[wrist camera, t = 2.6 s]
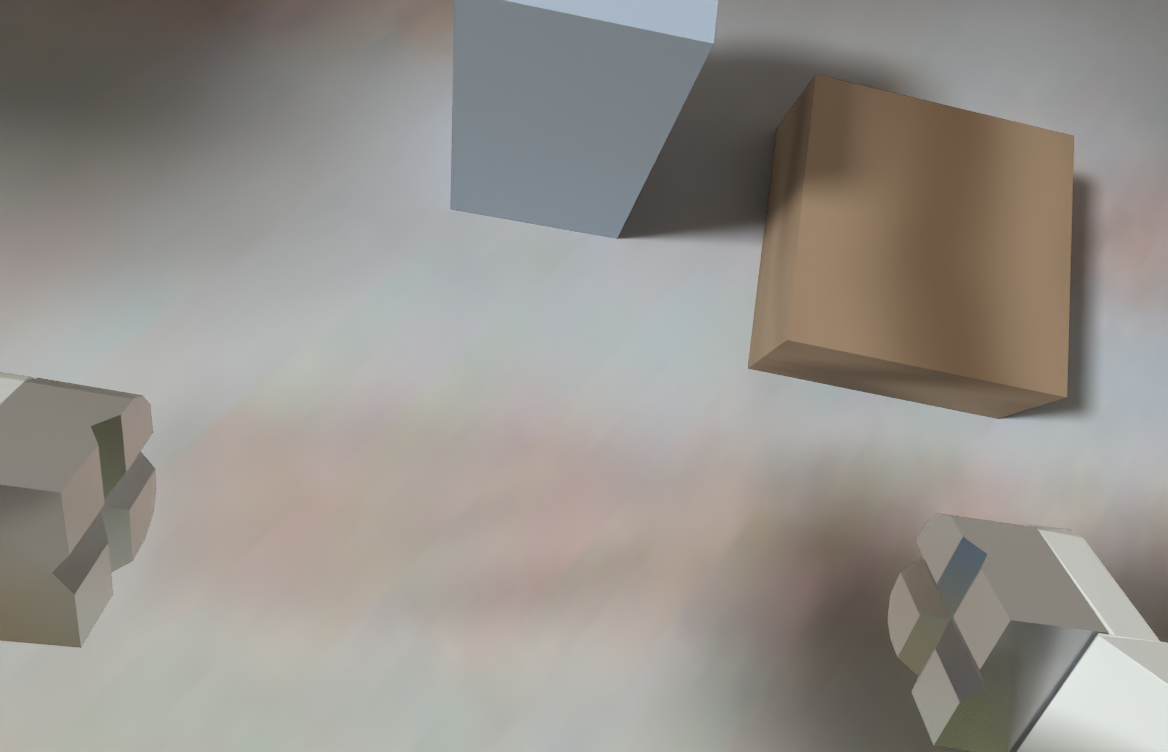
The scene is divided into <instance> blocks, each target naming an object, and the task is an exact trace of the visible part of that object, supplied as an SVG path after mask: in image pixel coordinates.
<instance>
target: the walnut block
mask: <svg viewBox="0 0 1168 752" xmlns="http://www.w3.org/2000/svg"><path fill="white" fill-rule="evenodd" d="M1073 159H1074V136H1072V135H1068V134H1064V133H1059V132H1055V131H1051V130H1047V129H1043V128H1039V127H1034V126H1030V125H1026V124H1022V123H1018V122H1013V121H1009V120H1005V119H1001V118H997V117H993V116H988V115H984V114H980V113H976V112H972V111H967V110H963V109H959V108H955V107H951V106H947V105H942V104H938V103H934V102H930V101H926V100H921V99H917V98H913V97H909V96H905V95H901V94H896V93H892V92H888V91H884V90H880V89H875V88H871V87H867V86H863V85H859V84H855V83H850V82H846V81H842V80H838V79H834V78H829V77H825V76H821V75H817V74H816V75H815V76H814V78H813V79H812V80H811V82H810V83H809V85H808V86H807V87H806V89H805V90H804V91H803V93H802V94H801V96H800V97H799V98H798V100H797V101H796V103H795V104H794V105H793V107H792V108H791V110H790V111H789V112H788V114H787V115H786V116H785V118H784V119H783V121H782V122H781V123H780V125H779V126H778V128H777V129H776V136H775V145H774V153H773V162H772V170H771V178H770V187H769V195H768V203H767V212H766V220H765V228H764V237H763V245H762V253H761V262H760V270H759V278H758V287H757V295H756V303H755V312H754V320H753V329H752V337H751V345H750V354H749V362H748V368H749V369H754V370H758V371H763V372H768V373H773V374H778V375H783V376H788V377H793V378H798V379H803V380H808V381H813V382H818V383H823V384H828V385H833V386H838V387H843V388H848V389H853V390H858V391H863V392H868V393H873V394H878V395H883V396H887V397H892V398H897V399H902V400H907V401H912V402H917V403H922V404H927V405H932V406H937V407H942V408H947V409H952V410H957V411H962V412H967V413H972V414H977V415H982V416H987V417H992V418H997V419H999V418H1002V417H1005V416H1009V415H1012V414H1015V413H1018V412H1022V411H1025V410H1028V409H1031V408H1035V407H1038V406H1041V405H1044V404H1048V403H1051V402H1054V401H1057V400H1061V399H1064V398H1067V388H1068V350H1069V312H1070V274H1071V236H1072V198H1073Z"/></svg>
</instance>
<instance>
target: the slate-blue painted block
mask: <svg viewBox="0 0 1168 752" xmlns="http://www.w3.org/2000/svg"><path fill="white" fill-rule="evenodd" d="M717 7H718V0H455V8H454V57H453V107H452V157H451V206H450V209H453V210H459V211H464V212H470V213H476V214H481V215H487V216H492V217H498V218H504V219H509V220H515V221H521V222H526V223H532V224H537V225H543V226H549V227H554V228H560V229H566V230H571V231H577V232H583V233H588V234H594V235H599V236H605V237H611V238H616V239H617V238H618V236H619V234H620V232H621V230H622V228H623V226H624V224H625V222H626V220H627V218H628V216H629V214H630V212H631V210H632V208H633V206H634V204H635V202H636V199H637V197H638V195H639V193H640V191H641V189H642V187H643V185H644V183H645V181H646V179H647V177H648V175H649V173H650V171H651V169H652V167H653V165H654V163H655V161H656V159H657V157H658V155H659V153H660V151H661V149H662V147H663V145H664V143H665V141H666V139H667V137H668V135H669V133H670V131H671V129H672V127H673V125H674V123H675V121H676V119H677V117H678V115H679V113H680V111H681V109H682V107H683V105H684V103H685V101H686V99H687V97H688V95H689V93H690V91H691V89H692V87H693V85H694V83H695V81H696V79H697V77H698V75H699V73H700V71H701V69H702V67H703V65H704V63H705V61H706V58H707V56H708V54H709V52H710V50H711V48H712V46H713V44H714V37H715V27H716V17H717Z"/></svg>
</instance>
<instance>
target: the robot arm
mask: <svg viewBox="0 0 1168 752" xmlns="http://www.w3.org/2000/svg"><path fill="white" fill-rule="evenodd" d="M152 433H153V426H152V416H151V406H150V403H149V402H148V401H147V400H146V399H145V397H144V396H143V395H137V394H132V393H126V392H120V391H114V390H108V389H102V388H96V387H90V386H84V385H78V384H72V383H66V382H60V381H54V380H48V379H42V378H36V379H35V378H32V377H30V376H23V375H16V374H10V373H3V372H0V640H1V641H12V642H23V643H35V644H46V645H57V646H68V647H80V648H81V647H82V645H83V643H84V642H85V640H86V638H87V637H88V635H89V633H90V632H91V630H92V628H93V627H94V625H95V623H96V622H97V620H98V618H99V617H100V615H101V613H102V612H103V610H104V608H105V607H106V605H107V603H108V602H109V600H110V598H111V597H112V595H113V589H112V577H111V572H113V571H115V570H117V569H118V568H120V567H122V566H124V565H126V564H128V563H130V562H131V561H133V559H134V558H135V556H136V554H137V552H138V551H139V549H140V547H141V545H142V543H143V542H144V540H145V537H146V534H147V531H148V528H149V525H150V521H151V518H152V515H153V512H154V504H155V495H156V473H155V468H154V467H153V465H152V464H151V463H150V462H149V461H148V459H147V458H146V457H145V456H144V455H143V454H142V452H141V450H142V448H143V447H144V445H145V444H146V442H147V441H148V439H149V438H150V436H151V435H152ZM916 543H917V546H918V549H919V552H920V555H921V559H920V560H918V561H917V562H915V563H914V564H912V565H910V566H909V567H907V568H906V569H904V570H903V571H901V572H900V574H899V576H898V578H897V581H896V583H895V585H894V587H893V590H892V592H891V594H890V600H889V609H888V618H887V620H888V627H889V634H890V639H891V642H892V645H893V647H894V650H895V652H896V655H897V658H898V659H900V660H901V661H902V662H903V663H904V664H905V665H906V666H907V667H908V668H909V669H911V670H912V671H913V672H914V673H915V674H916V675H917V676H918V678H917V680H916V682H915V685H914V687H913V689H912V691H911V692H912V695H913V697H914V700H915V702H916V704H917V707H918V709H919V712H920V714H921V717H922V719H923V721H924V724H925V726H926V729H927V731H928V733H929V736H930V738H931V741H932V743H933V746H939V747H946V748H952V749H959V750H966V751H973V752H1168V643H1166V642H1160V640H1159V639H1158V638H1157V636H1156V635H1155V634H1154V632H1153V631H1152V630H1151V628H1150V627H1149V626H1148V624H1147V623H1146V622H1145V620H1144V619H1143V618H1142V616H1141V615H1140V614H1139V612H1138V611H1137V610H1136V608H1135V607H1134V605H1133V604H1132V603H1131V601H1130V600H1129V599H1128V597H1127V596H1126V595H1125V593H1124V592H1123V591H1122V589H1121V588H1120V587H1119V585H1118V584H1117V583H1116V581H1115V580H1114V579H1113V577H1112V576H1111V575H1110V573H1109V572H1108V571H1107V569H1106V568H1105V567H1104V565H1103V564H1102V563H1101V561H1100V560H1099V559H1098V557H1097V556H1096V554H1095V553H1094V552H1093V550H1092V549H1091V548H1090V546H1089V545H1088V544H1087V542H1086V541H1085V540H1084V538H1083V537H1081V536H1079V535H1078V534H1076V533H1074V532H1073V531H1071V530H1069V529H1061V528H1053V527H1044V526H1036V525H1027V524H1025V525H1017V524H1010V523H1002V522H995V521H988V520H981V519H973V518H966V517H959V516H952V515H944V514H935V515H934V516H933V517H932V518H931V519H930V520H929V521H928V522H927V523H925V525H924V527H923V529H922V531H921V533H920V535H919V537H918V538H917V540H916Z"/></svg>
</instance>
